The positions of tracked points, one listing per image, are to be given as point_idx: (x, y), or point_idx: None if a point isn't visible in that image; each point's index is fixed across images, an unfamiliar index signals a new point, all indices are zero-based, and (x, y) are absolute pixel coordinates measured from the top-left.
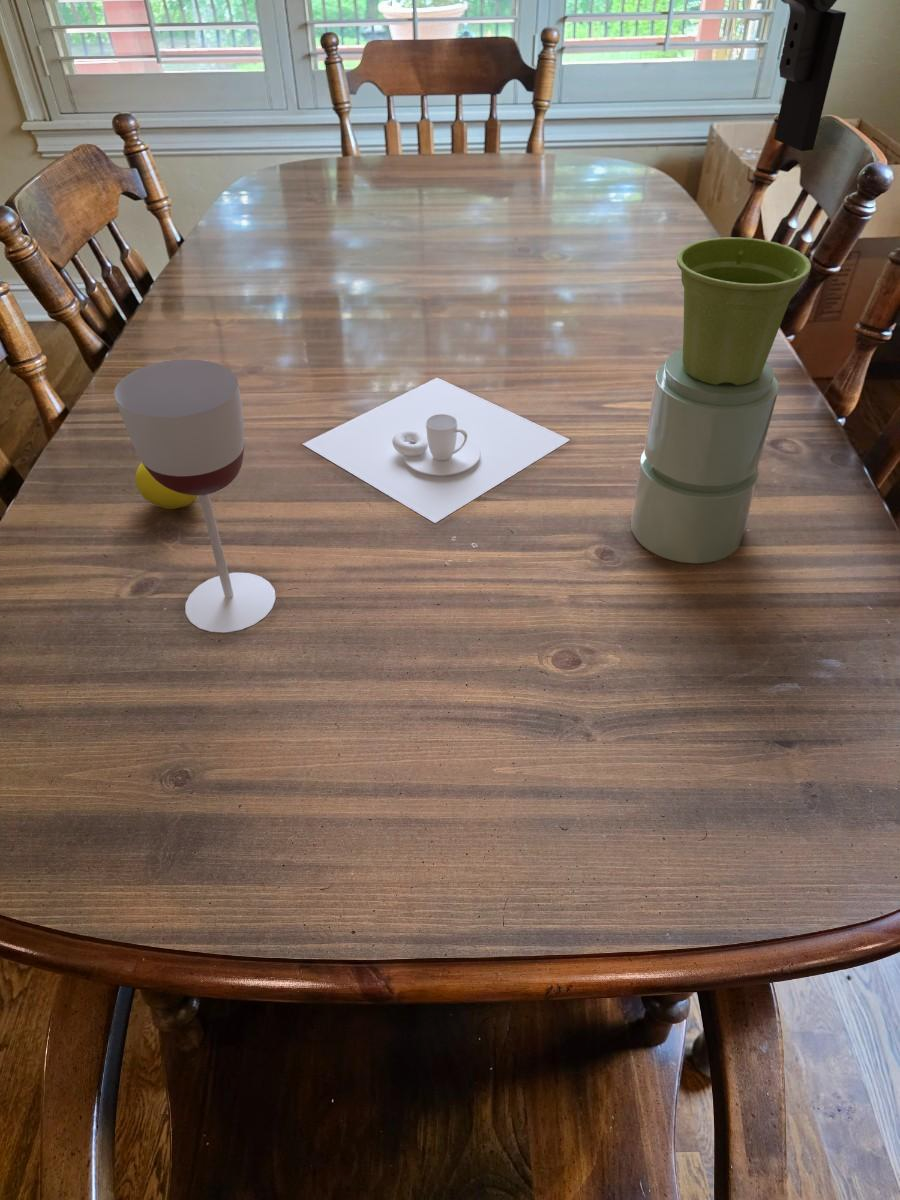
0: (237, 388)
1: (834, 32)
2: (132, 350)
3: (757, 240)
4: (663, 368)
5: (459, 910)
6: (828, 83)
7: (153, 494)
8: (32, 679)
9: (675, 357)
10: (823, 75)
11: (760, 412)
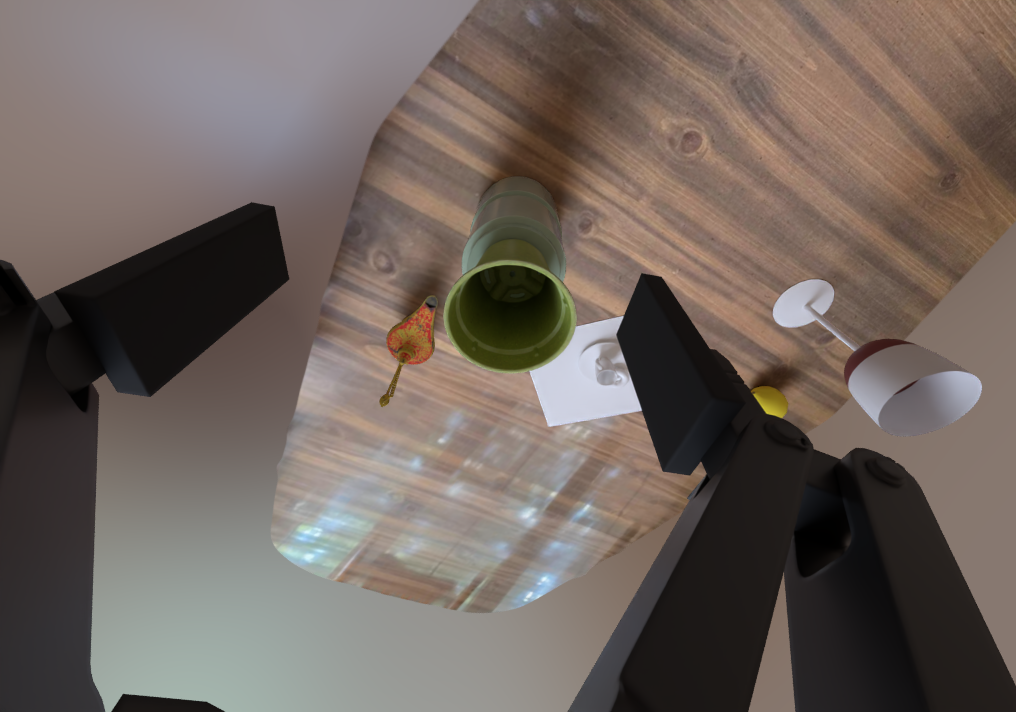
0: (902, 387)
1: (718, 375)
2: (675, 510)
3: (461, 349)
4: None
5: None
6: (670, 321)
7: (784, 396)
8: (929, 299)
9: None
10: (690, 331)
11: (510, 213)
